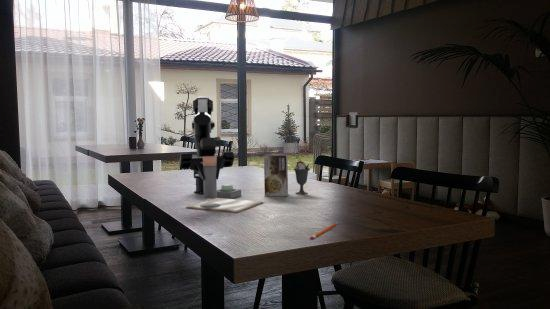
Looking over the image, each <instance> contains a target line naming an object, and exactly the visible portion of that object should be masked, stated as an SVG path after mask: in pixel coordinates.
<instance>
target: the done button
mask: <svg viewBox="0 0 550 309" xmlns="http://www.w3.org/2000/svg"><path fill="white" fill-rule="evenodd" d="M221 189H222V191H226V192H231V191H233V189H234V184H228V183H227V184H221Z"/></svg>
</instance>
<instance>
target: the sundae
mask: <svg viewBox="0 0 550 309" xmlns="http://www.w3.org/2000/svg"><path fill="white" fill-rule="evenodd" d="M295 158H296V159H297V160H298V161H297V162H296V165H295V166H294V168H293V171H294V173H295V180H296V183H297V184H298V185H300V186H299V187H300V188H299V191H296V192H295V194H296V195H301V196H302V195H308V192H306V191H304V185H306V183H307V181H308V176H309V174H308V173H309V171H311V168H310V166H309V165H310V164H309V163H308V164H306V163H305V162H304V161H303V160H301V159H300V158H299V157H298V156H296V157H295Z"/></svg>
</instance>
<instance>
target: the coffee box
mask: <svg viewBox="0 0 550 309" xmlns="http://www.w3.org/2000/svg"><path fill="white" fill-rule="evenodd" d="M288 162H289V161H288V154H287V153H280V154H279V153H275V154H272V153H271V154H270V153H269V154H264V155H263V169H264V170H263V171H264V172H263V173H264V175H263V176H264V177H263V179H264V180H263V181H264V183H263V184H264V185H263V186H264V194H263V195H264V197H287V196H288V195H289V181H288V180H289V178H288V177H289V173H288V172H289V171H288V170H289V169H288V166H289V165H288Z"/></svg>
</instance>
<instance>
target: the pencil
mask: <svg viewBox="0 0 550 309" xmlns="http://www.w3.org/2000/svg"><path fill="white" fill-rule="evenodd" d="M336 226H338V223H336V222H335V223H333V224H331V225H329V226H327V227H325V228H324V229H323V230H320V231H319V232H317V233H315V234H313V235H312V236H310V238H309V239H310V240H314V238H315V239H316V238H318V237H320V236H321V235H323V234H325V233H327V232H328V231H329V229H330V230H331V229H333V228H334V227H336ZM324 232H325V233H324ZM322 233H323V234H322ZM319 235H320V236H319ZM317 236H318V237H317Z"/></svg>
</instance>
